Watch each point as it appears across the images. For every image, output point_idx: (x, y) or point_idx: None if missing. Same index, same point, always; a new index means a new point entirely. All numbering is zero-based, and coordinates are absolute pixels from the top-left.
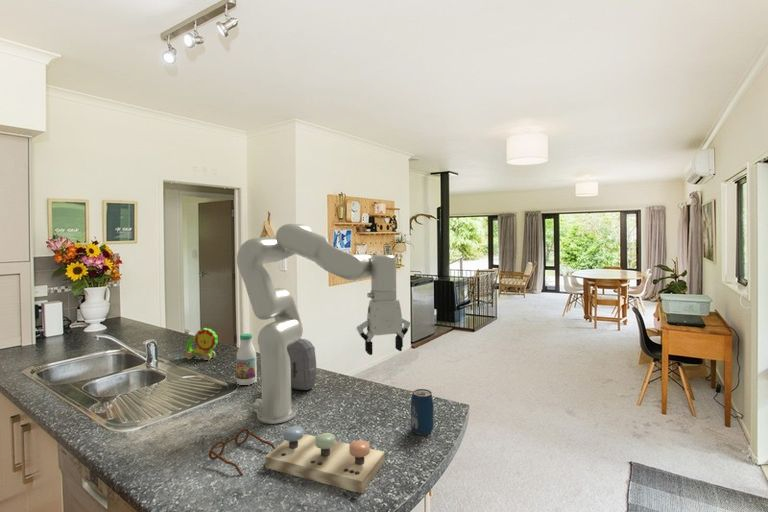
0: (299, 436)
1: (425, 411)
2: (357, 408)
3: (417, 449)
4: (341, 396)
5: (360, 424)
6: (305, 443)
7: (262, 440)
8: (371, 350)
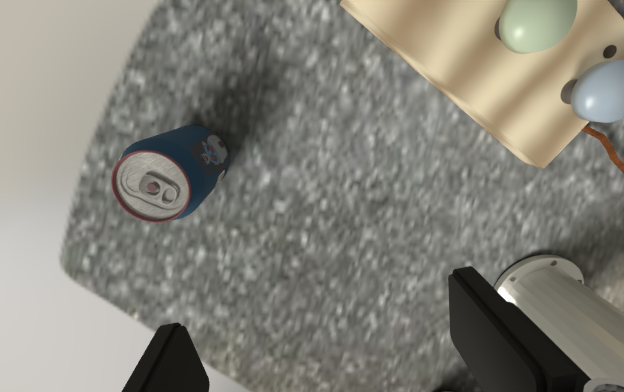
0: (599, 66)
1: (169, 133)
2: (343, 295)
3: (235, 54)
4: (368, 356)
5: (354, 216)
6: (539, 101)
7: (618, 158)
8: (483, 292)
